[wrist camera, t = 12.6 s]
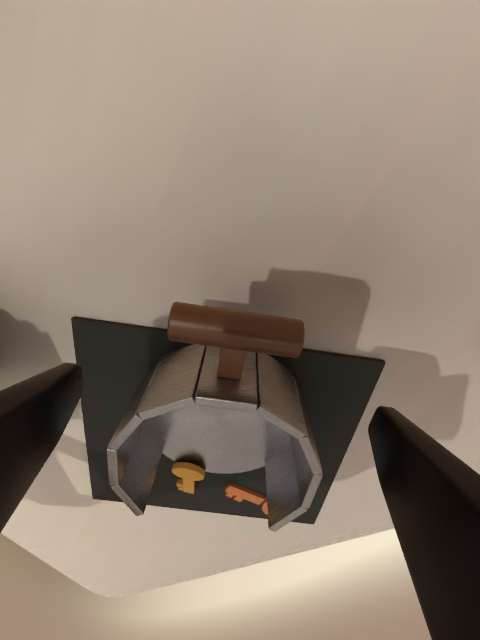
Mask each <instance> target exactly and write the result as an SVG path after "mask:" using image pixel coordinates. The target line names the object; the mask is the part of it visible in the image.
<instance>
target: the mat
mask: <svg viewBox="0 0 480 640" xmlns="http://www.w3.org/2000/svg"><path fill="white" fill-rule="evenodd" d="M71 321H72V329H73V338H74V346H75V354H76V363H77V364H79V365H80V366H81V368H82V375H83V384H84V389H83V393H82V395H81V405H82V413H83V421H84V430H85V438H86V446H87V455H88V463H89V471H90V480H91V488H92V496H93V499H100V500H109V501H118V502H123V500H122V499H121V498H120V497H119V496H118V495H117V494H116V493H115V492H114V490H113V489H112V488H111V485H109V473H108V460H107V448H108V445H109V443H110V441H111V439H112V437H113V435H114V433H115V431H116V429H117V427H118V425H119V423H120V421H121V419H122V417H123V415H124V413H125V411H126V409H127V407H128V405H129V404H130V402H131V400H132V398H133V396H134V394H135V392H136V390H137V388H138V386H139V384H140V382H141V381H142V380H143V379H144V378H145V376H146V375H147V374H148V373H149V371H150V370H151V369H152V368H153V366H154V365H155V364H156V363H157V361H158V360H159V359H160V358H161V356H164V354H166V353H169V352H172V351H175V350H178V349H181V348H184V347H187V346H190V345H193V344H191V343H184V342H177V341H170V340H169V339H168V334H167V330H165V329H158V328H151V327H144V326H137V325H130V324H122V323H115V322H108V321H101V320H94V319H87V318H80V317H72V318H71ZM268 355H270V354H268ZM270 356H271V357H272V358H274V359H275V360H277V361H278V362H279V363H281V364H282V365H284V366H285V367H287V368H288V369H289V370H291V371H292V373H294V375H295V378H296V380H297V383H298V385H299V388H300V391H301V393H302V396H303V398H304V401H305V404H306V407H307V411H308V415H309V419H310V423H311V427H312V431H313V435H314V439H315V443H316V448H317V452H318V456H319V460H320V464H321V468H322V472H323V473H322V475H323V476H322V479H321V481H320V484H319V486H318V488H317V491H316V493H315V496H314V498H313V500H312V503H311V505H310V508H307V511H306V512H304V513H303V514H301V515H299V516H298V517H296V518H295V519H293V520H292V521H290V522H299V523H307V524H314V523H315V521H316V518H317V516H318V514H319V512H320V509H321V507H322V505H323V503H324V500H325V498H326V496H327V494H328V491H329V489H330V487H331V485H332V482H333V480H334V478H335V476H336V473H337V471H338V469H339V467H340V464H341V462H342V460H343V458H344V455H345V453H346V451H347V449H348V446H349V444H350V442H351V440H352V437H353V435H354V433H355V431H356V428H357V426H358V424H359V422H360V419H361V417H362V415H363V412H364V410H365V408H366V406H367V403H368V401H369V399H370V397H371V394H372V392H373V390H374V388H375V385H376V383H377V381H378V379H379V376H380V374H381V372H382V370H383V367H384V365H385V361H384V360H378V359H370V358H363V357H356V356H349V355H342V354H335V353H328V352H321V351H314V350H307V349H302V351H301V353H300V355H299V357H297V358H292V357H284V356H277V355H270ZM175 463H177V462H175V461H173V460H172V459H170V458H168V457H167V456H165V455H164V454H163V453H162V455H161V459H160V462H159V465H158V468H157V472H156V475H155V478H154V481H153V485H152V488H151V491H150V494H149V498H148V501H147V504H146V505H152V506H161V507H169V508H178V509H187V510H195V511H204V512H213V513H221V514H230V515H238V516H247V517H256V518H264V519H268V515H267V514H265V513H264V512H263V510H262V503H261V504H260V505H258V504H255V503H253V502H250V501H248V500H245V499H243V500H242V501H241V502H238V501H236V500H234V495H233V497H232V498H230V497H228V496H225V493H226V492H225V487H226V486H227V485H228V484H229V482H232V483H235V484H237V485H240V486H242V487H245V488H247V489H250V490H252V491H255V492H257V493H260V494H262V495H264V496H265V498H266V497H267V490H266V472H265V466H263V467H261V468H258V469H255V470H251V471H247V472H241V473H232V474H220V473H209V472H205V476H204V479H203V480H200V481H195V492H194V494H191V493H187V492H184V491H182V490H178V486H177V484H176V483H177V480H178V479H182V480H183V478H180V477H178V476H176V475H175V474H173V473H172V468H173V465H174V464H175Z"/></svg>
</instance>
